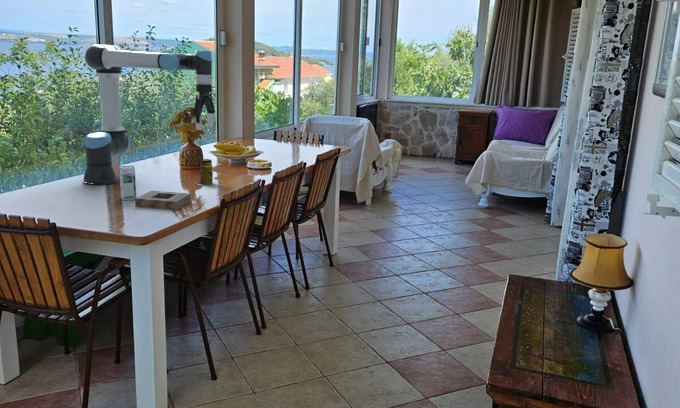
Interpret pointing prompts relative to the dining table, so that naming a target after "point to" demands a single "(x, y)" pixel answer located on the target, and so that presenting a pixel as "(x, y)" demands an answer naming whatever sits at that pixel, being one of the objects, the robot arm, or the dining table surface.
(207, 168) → the condiment
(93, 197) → the dining table surface
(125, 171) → the syrup box
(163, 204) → the walnut socket block
